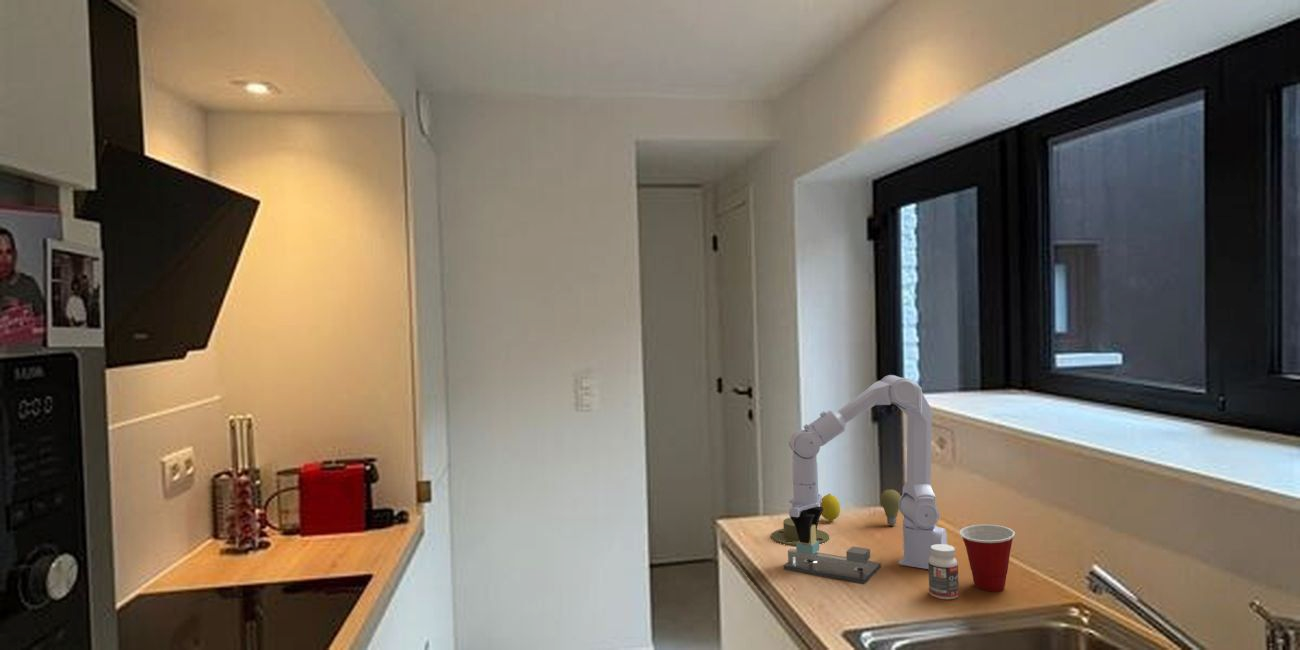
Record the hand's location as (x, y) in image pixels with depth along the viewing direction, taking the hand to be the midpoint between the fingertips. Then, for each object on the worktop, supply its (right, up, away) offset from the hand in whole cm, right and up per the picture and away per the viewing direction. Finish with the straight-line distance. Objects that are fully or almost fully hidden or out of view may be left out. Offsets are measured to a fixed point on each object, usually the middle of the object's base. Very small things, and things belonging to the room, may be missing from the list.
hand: (807, 540), depth 169 cm
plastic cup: (+35, -6, -15) cm, 39 cm away
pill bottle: (+24, -6, -19) cm, 31 cm away
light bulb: (+30, -5, +30) cm, 42 cm away
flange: (+3, -7, +23) cm, 24 cm away
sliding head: (0, -5, 0) cm, 5 cm away
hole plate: (+6, -6, -1) cm, 8 cm away
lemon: (+14, -6, +35) cm, 39 cm away
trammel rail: (+4, -5, -3) cm, 7 cm away
